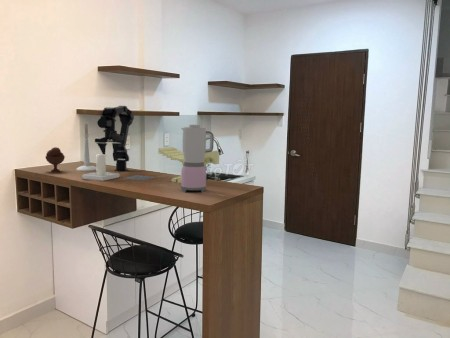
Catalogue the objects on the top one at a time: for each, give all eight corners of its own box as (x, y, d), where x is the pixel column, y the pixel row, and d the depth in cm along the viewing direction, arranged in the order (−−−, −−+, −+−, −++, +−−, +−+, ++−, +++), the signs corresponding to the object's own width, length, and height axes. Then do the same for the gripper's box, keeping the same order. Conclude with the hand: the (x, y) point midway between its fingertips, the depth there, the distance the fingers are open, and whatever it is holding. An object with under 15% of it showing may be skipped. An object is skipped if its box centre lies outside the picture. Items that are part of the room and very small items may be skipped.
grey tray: (99, 175, 215) (99, 171, 215) (119, 177, 210) (119, 173, 210) (82, 179, 203) (82, 174, 202) (102, 181, 197) (102, 177, 197)
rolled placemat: (104, 176, 210) (104, 154, 208) (106, 178, 206) (106, 154, 204) (95, 177, 207) (94, 154, 205) (97, 178, 203) (97, 155, 201)
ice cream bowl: (68, 170, 232) (67, 146, 230) (58, 173, 221) (58, 148, 219) (52, 169, 233) (51, 146, 231) (42, 172, 222) (41, 147, 220)
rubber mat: (136, 175, 219) (136, 175, 219) (156, 177, 214) (157, 177, 214) (121, 179, 206) (121, 178, 206) (143, 181, 201) (143, 180, 201)
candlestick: (77, 171, 229) (76, 123, 225) (75, 168, 240) (73, 122, 236) (99, 170, 235) (98, 123, 231) (95, 167, 246) (94, 122, 242)
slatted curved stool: (218, 181, 207) (219, 150, 205) (203, 186, 193) (204, 152, 191) (175, 176, 221) (175, 146, 219) (158, 179, 208) (158, 148, 205)
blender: (181, 193, 174) (182, 124, 169) (179, 188, 186) (180, 124, 181) (214, 192, 177) (216, 125, 173) (210, 187, 189) (211, 125, 184)
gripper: (109, 128, 207) (108, 155, 208) (131, 129, 224) (130, 155, 225) (94, 127, 212) (94, 154, 213) (116, 129, 229) (116, 154, 230)
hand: (109, 154), depth 220 cm, fingers open, 9 cm apart
